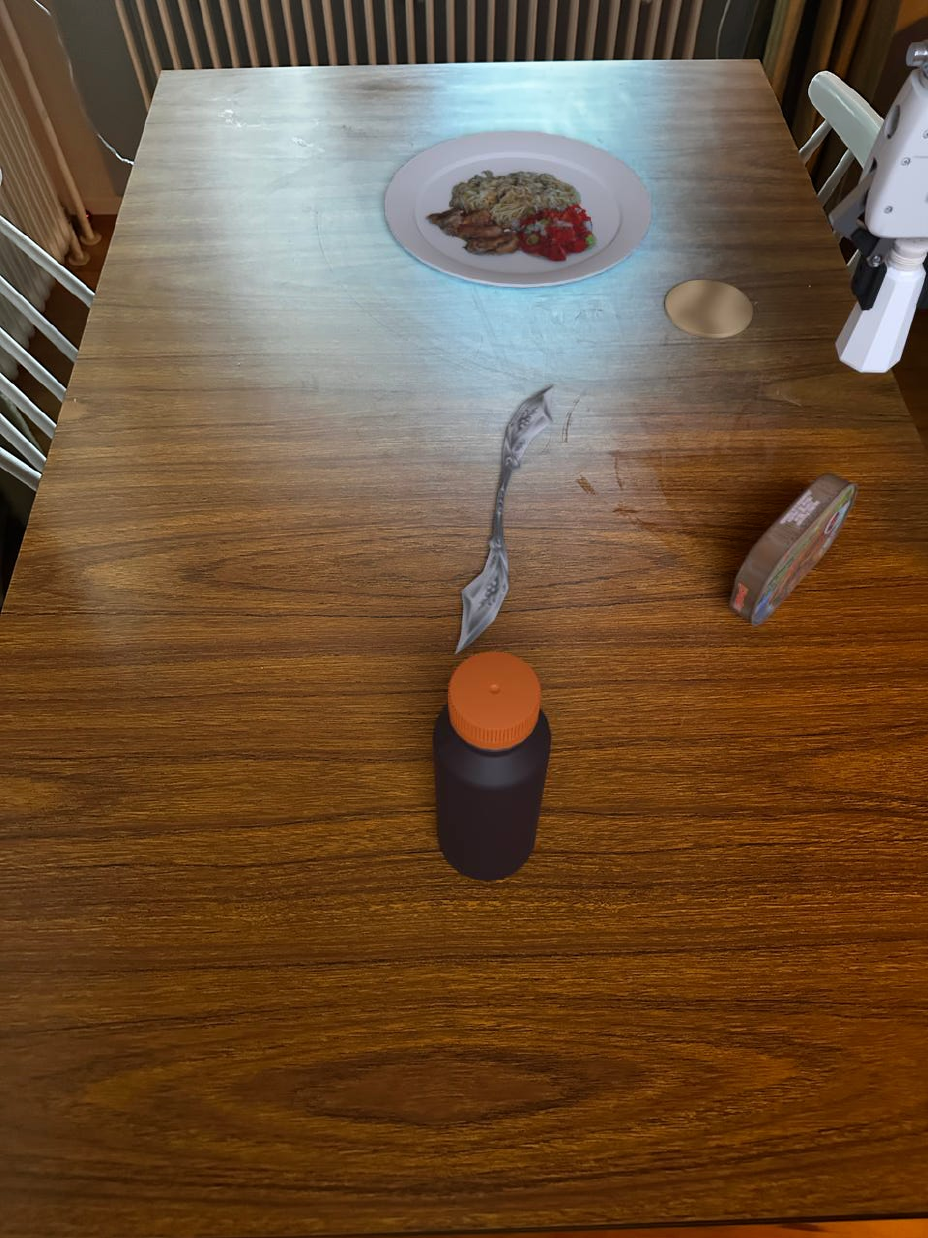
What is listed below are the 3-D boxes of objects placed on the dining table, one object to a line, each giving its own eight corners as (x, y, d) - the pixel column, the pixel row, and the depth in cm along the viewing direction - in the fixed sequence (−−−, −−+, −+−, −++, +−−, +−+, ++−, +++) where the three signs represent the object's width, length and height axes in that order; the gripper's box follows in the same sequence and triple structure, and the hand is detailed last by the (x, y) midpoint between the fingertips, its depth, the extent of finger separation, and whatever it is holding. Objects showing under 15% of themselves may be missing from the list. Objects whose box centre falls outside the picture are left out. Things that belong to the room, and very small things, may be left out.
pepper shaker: (875, 326, 83) (922, 210, 74) (912, 365, 80) (966, 249, 71) (821, 341, 82) (862, 225, 73) (857, 381, 79) (905, 265, 70)
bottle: (532, 789, 68) (554, 634, 52) (538, 882, 64) (564, 746, 48) (437, 791, 68) (429, 636, 52) (437, 884, 64) (429, 748, 48)
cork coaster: (743, 282, 102) (744, 278, 101) (759, 338, 96) (760, 334, 96) (659, 283, 101) (659, 279, 101) (671, 338, 96) (672, 334, 96)
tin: (744, 645, 75) (773, 580, 68) (711, 622, 76) (736, 557, 70) (841, 537, 82) (876, 468, 75) (808, 518, 83) (841, 448, 76)
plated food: (444, 126, 119) (444, 98, 117) (677, 175, 113) (683, 147, 111) (340, 261, 103) (337, 233, 101) (606, 327, 97) (610, 299, 95)
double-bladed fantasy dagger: (559, 387, 92) (508, 381, 92) (559, 383, 91) (509, 376, 92) (509, 665, 74) (447, 655, 74) (509, 661, 73) (447, 651, 74)
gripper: (874, 92, 60) (795, 332, 75) (1140, 85, 60) (1008, 326, 75) (844, 36, 64) (776, 273, 79) (1092, 29, 64) (976, 267, 79)
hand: (889, 296), depth 77 cm, fingers closed on pepper shaker, 3 cm apart
